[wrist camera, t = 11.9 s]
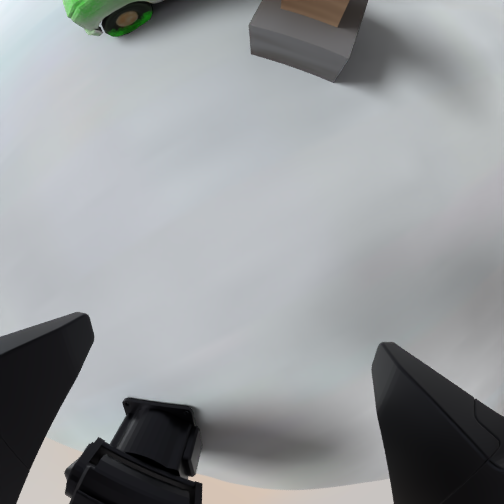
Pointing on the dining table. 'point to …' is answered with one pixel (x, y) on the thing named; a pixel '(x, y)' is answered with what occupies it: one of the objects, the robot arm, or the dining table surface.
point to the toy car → (109, 15)
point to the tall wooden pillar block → (307, 33)
